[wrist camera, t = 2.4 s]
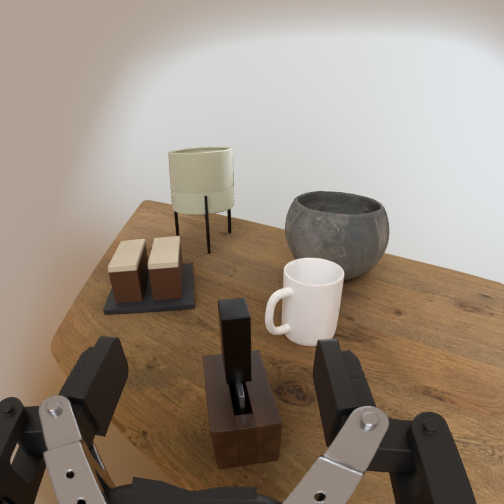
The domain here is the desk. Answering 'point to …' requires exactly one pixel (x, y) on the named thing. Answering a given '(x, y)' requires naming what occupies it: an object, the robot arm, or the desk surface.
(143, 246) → the cake
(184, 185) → the planter
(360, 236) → the bowl
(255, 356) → the knife block
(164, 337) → the desk surface
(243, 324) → the knife
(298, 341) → the cup
